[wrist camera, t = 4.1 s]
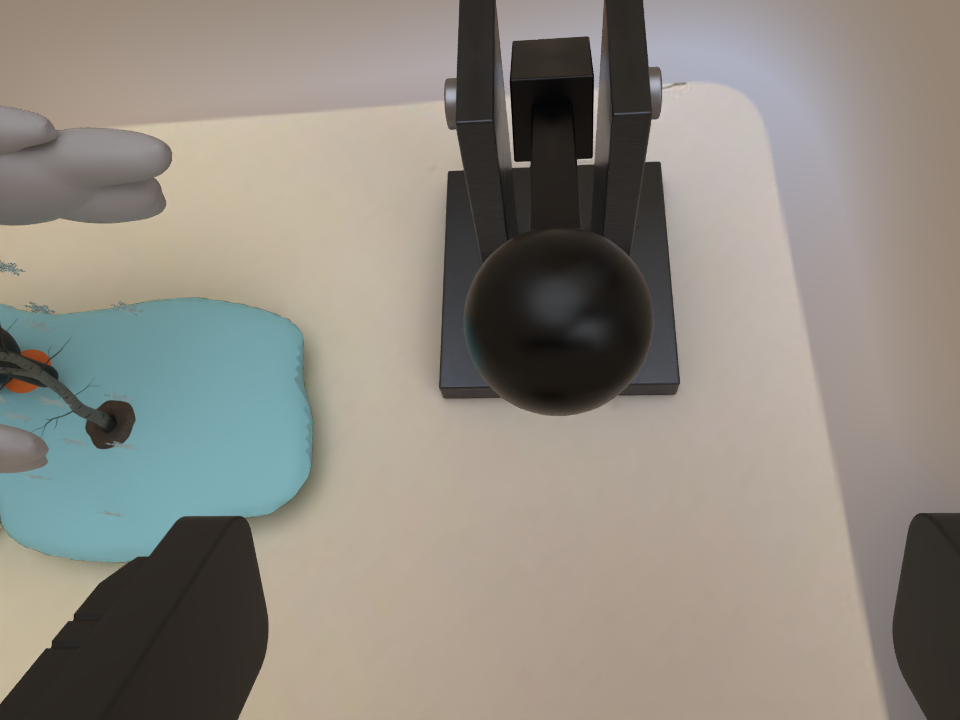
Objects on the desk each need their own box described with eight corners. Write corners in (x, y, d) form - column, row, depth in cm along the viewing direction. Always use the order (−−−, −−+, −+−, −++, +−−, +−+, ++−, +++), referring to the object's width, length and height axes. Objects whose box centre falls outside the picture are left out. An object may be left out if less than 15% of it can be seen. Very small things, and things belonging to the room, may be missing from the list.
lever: (656, 454, 15) (672, 302, 12) (466, 456, 15) (445, 309, 13) (610, 132, 24) (614, 12, 22) (495, 137, 25) (486, 20, 22)
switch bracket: (676, 395, 30) (748, 204, 18) (443, 399, 31) (370, 219, 19) (657, 177, 34) (707, -94, 22) (451, 186, 35) (394, -71, 23)
